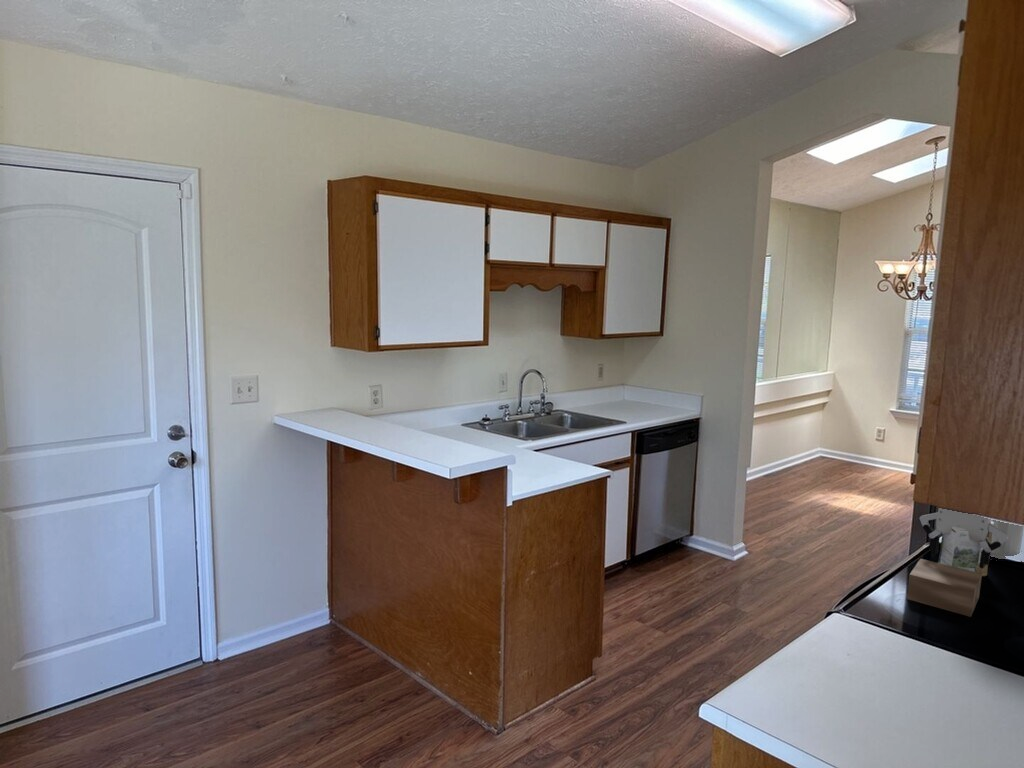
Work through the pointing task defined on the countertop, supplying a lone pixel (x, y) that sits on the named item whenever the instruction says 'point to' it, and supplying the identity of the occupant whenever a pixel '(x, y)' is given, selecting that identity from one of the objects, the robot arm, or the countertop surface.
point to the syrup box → (959, 550)
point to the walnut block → (944, 587)
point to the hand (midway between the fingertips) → (957, 560)
